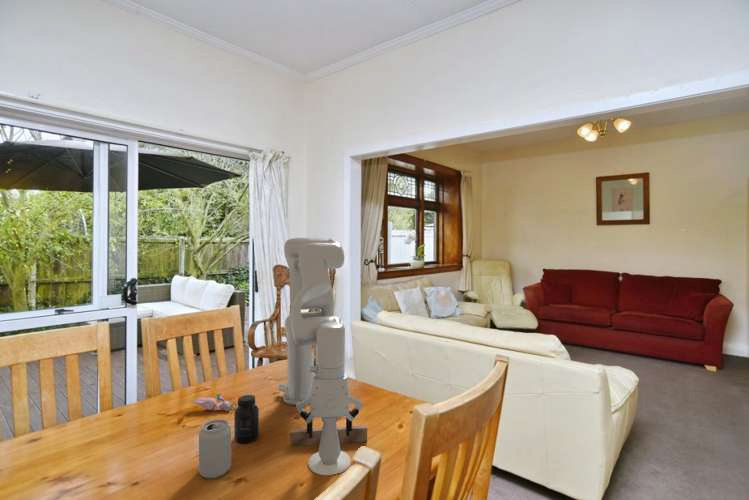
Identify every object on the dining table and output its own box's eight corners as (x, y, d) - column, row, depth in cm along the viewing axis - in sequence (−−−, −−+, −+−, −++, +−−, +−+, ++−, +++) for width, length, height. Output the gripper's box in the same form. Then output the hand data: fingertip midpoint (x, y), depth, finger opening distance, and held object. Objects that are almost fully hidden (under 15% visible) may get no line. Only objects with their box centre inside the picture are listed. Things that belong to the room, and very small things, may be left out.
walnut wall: (289, 446, 107) (290, 432, 107) (290, 443, 109) (290, 429, 108) (367, 441, 110) (367, 428, 110) (366, 438, 112) (366, 425, 111)
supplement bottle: (263, 434, 113) (263, 395, 113) (248, 446, 107) (249, 404, 107) (244, 430, 116) (244, 391, 115) (229, 441, 109) (229, 400, 109)
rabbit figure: (237, 409, 133) (194, 402, 132) (240, 393, 133) (197, 386, 132) (231, 418, 127) (186, 410, 126) (234, 400, 127) (189, 393, 126)
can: (205, 463, 99) (205, 417, 98) (234, 461, 99) (234, 416, 99) (193, 481, 91) (193, 432, 91) (225, 480, 92) (225, 431, 92)
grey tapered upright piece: (342, 455, 102) (342, 407, 102) (338, 467, 97) (338, 417, 96) (321, 453, 103) (321, 406, 103) (315, 466, 97) (316, 416, 97)
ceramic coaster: (300, 470, 96) (300, 469, 96) (319, 448, 106) (319, 446, 106) (341, 478, 93) (341, 477, 93) (356, 454, 103) (356, 453, 103)
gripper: (295, 377, 94) (294, 444, 95) (364, 374, 97) (363, 440, 97) (297, 366, 102) (296, 429, 102) (361, 364, 104) (360, 425, 105)
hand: (329, 434), depth 100 cm, fingers open, 9 cm apart
